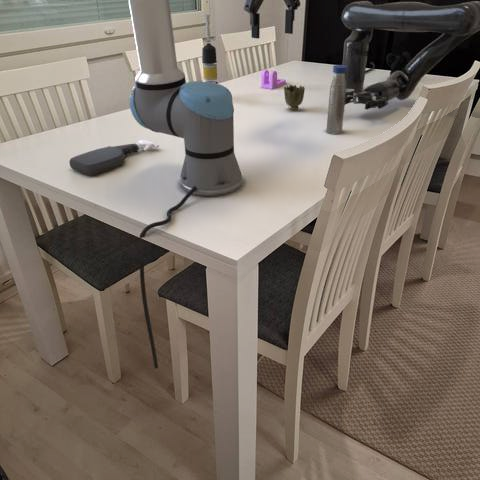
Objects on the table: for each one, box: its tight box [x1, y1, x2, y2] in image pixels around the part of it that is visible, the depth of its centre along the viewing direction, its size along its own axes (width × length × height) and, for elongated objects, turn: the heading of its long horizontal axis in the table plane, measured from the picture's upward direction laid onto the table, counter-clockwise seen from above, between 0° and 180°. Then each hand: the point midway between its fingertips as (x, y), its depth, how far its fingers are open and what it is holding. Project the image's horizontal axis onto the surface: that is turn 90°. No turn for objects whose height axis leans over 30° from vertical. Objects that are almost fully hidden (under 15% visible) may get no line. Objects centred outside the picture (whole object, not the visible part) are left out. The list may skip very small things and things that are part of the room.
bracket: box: [260, 69, 287, 90], centre depth 194 cm, size 13×6×7 cm, turn 143°
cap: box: [332, 64, 348, 74], centre depth 132 cm, size 4×4×2 cm
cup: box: [283, 84, 306, 112], centre depth 161 cm, size 8×7×8 cm
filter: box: [201, 14, 219, 84], centre depth 171 cm, size 6×6×30 cm
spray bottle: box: [68, 139, 160, 177], centre depth 124 cm, size 3×11×24 cm
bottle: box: [326, 73, 346, 135], centre depth 137 cm, size 5×5×19 cm
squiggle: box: [385, 51, 412, 78], centre depth 198 cm, size 11×10×15 cm
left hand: (272, 35), depth 134 cm, fingers open, 13 cm apart
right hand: (354, 103), depth 145 cm, fingers open, 8 cm apart
